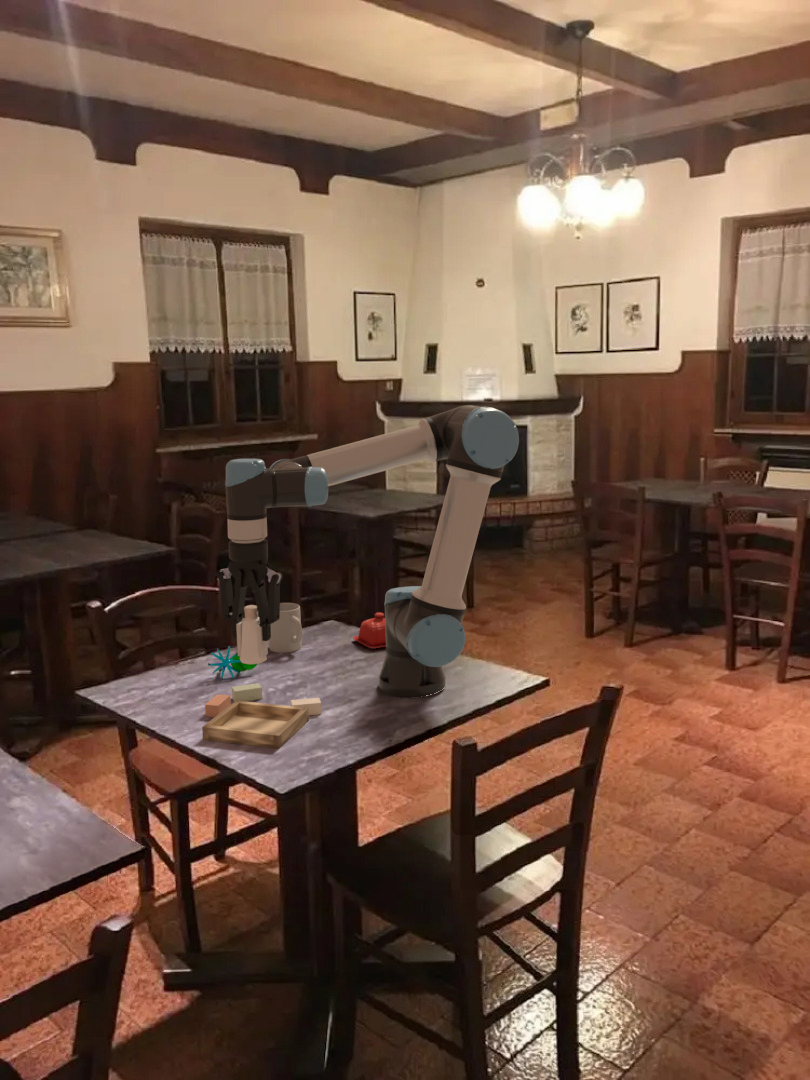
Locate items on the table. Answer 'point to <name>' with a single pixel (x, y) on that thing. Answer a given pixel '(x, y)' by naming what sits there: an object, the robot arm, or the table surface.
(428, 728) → the table surface
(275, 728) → the oak tray
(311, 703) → the cream brick
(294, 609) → the mug
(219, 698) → the terracotta brick
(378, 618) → the butter dish
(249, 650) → the pepper shaker
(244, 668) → the stick construction toy
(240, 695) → the sage brick
